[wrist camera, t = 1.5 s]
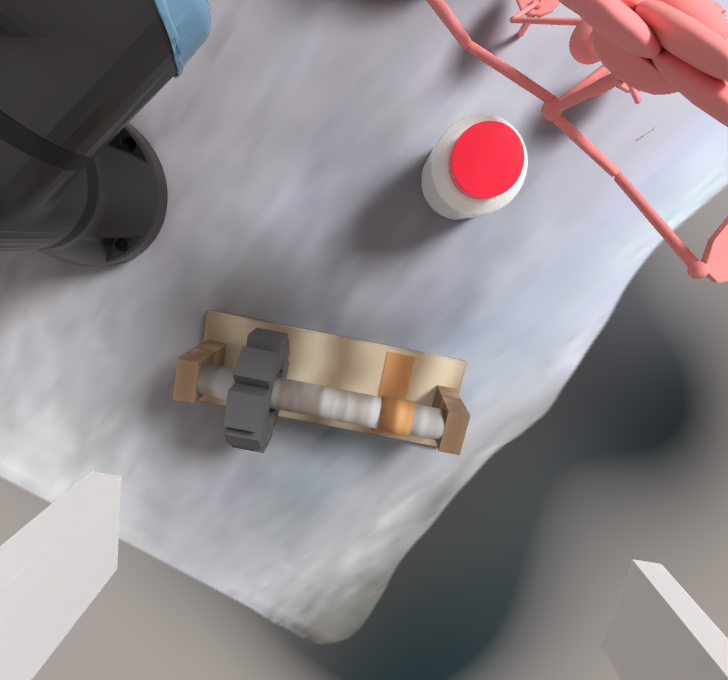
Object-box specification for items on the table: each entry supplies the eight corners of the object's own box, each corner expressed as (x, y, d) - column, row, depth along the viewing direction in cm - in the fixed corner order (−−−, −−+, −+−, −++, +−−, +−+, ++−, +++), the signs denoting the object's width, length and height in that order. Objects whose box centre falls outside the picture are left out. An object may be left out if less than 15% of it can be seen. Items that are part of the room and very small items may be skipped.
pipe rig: (199, 396, 49) (163, 429, 41) (209, 310, 47) (173, 325, 39) (443, 444, 50) (457, 485, 41) (464, 360, 48) (484, 386, 39)
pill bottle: (405, 169, 43) (416, 146, 33) (472, 120, 42) (505, 80, 32) (448, 235, 45) (471, 233, 34) (513, 189, 44) (559, 172, 33)
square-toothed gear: (252, 417, 48) (217, 467, 37) (267, 320, 46) (234, 344, 35) (279, 422, 48) (252, 474, 37) (295, 325, 46) (271, 351, 35)
